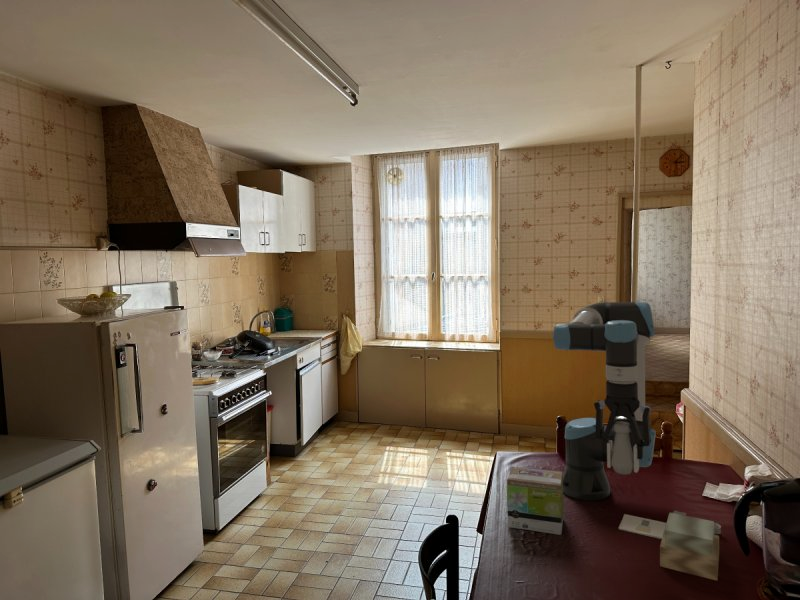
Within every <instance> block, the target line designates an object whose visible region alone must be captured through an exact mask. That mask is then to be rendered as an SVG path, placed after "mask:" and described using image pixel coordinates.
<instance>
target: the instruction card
mask: <svg viewBox="0 0 800 600" xmlns="http://www.w3.org/2000/svg"><path fill="white" fill-rule="evenodd" d="M666 523H667V522H663V521H659V520H653V519H650V518H646V517H645V518H644V517H639V516H635V515H631V514H626V513H624V514H623V517H622V520H621V521H620V523H619V526H618V530H620V531H624V532H629V533H633V534H638V535H642V536H647V537H651V538H654V539H655V538H656V539H659V540H662V537H663V533H664V529H665V525H666Z"/></svg>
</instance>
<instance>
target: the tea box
mask: <svg viewBox="0 0 800 600" xmlns="http://www.w3.org/2000/svg"><path fill="white" fill-rule="evenodd" d="M563 474H564V471H559V470H558V471H557V470H548V469H538V468H528V467H519V466H511V468H510V471H509V474H508V477H507V479H506V495H507V496H506V497H507V498H506V499H507V501H506V503H507V504H506V505H507V526H508V528H509V529H511V528H512V529H520V530H524V531H525V530H527V531H533V532H539V533H546V534H551V535H552V534H553V535H558V536H561V535H562V531H563V520H564V493H563Z"/></svg>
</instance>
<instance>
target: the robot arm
mask: <svg viewBox="0 0 800 600" xmlns="http://www.w3.org/2000/svg"><path fill="white" fill-rule="evenodd" d="M651 307H652V306H651V305H650V304H649V303H647V302H645V301H644V302H642V301H627V302H626V301H621V302H618V301H617V302H616V301H615V302H613V301H609V302H608V301H607V302H606V301H602V302H601V301H600V302H596V303H593V304H589V305H586V306H584V307H582V308H580V309H578V310H577V311H576V312H575V314H574V315H573V318H572V321H570V322H569V323H566V322H565V323H556V324H555V325H554V326H553V333H552V339H553V346H554V348H555V349H556V350H561V351H590V352H591V351H592V352H594V351H595V352H597V351H598V352H605V379H607V380H606V382H605V390H606V391H605V395H606V396H605V398H604V400H598V399H597V400H596V401H595V402H594V403H593V405H594V409H595V417H581V418H576V419H572V420H570V421H568V422H567V424H566V425H565V428H564V429H565V430H564V440H565V442H564V444H565V468H564V471H563V494H565V495H566V496H568V497H570V498H573V499H576V500H581V501H600V500H601V501H602V500H604V499H606V498H608V497H609V496H610V495H611V486H610V483H609V479H608V477H607V474H606V471H605V469H604V468H605V467H604V466H605V465H604V464H606V465H607V468H609V469H610V468H611V467H613V466H612V464H611V457H612V451H613V445H614V439H615V433H616V432H615V431H614V429H613V424H614V423H615V422H618V421H623V422H627V423H629V424H630V427H631V432H630V433H629V438H630V443H631V448H632V452H633V456H634V468H633V472H634V473H636V474H637V473H638V472H639V470H640V468H647V467H650V466H651V464H652V461H653V458H654V457H653V456H654V450H655V445H656V444H655V441H656V436H657V435H656V430H655V429H653V428H652V427H651V426H652V425H651V421H650V413H651V411H652V406H650V405H646V346H647V345H648V344H649V343H650V341H651V338H653V337H655V335H656V334H655V326H654V319H653V314H652V308H651ZM605 406H606V408H608V411H610V413H609V417H608V420H607V421H608V422H607V424H606V425H604V409H605Z"/></svg>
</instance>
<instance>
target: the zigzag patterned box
mask: <svg viewBox="0 0 800 600" xmlns="http://www.w3.org/2000/svg"><path fill="white" fill-rule="evenodd" d="M668 513H669V514H668V516H667V521H666V522H665V523H666V525H665V529H664V533H663V537H662V539H660V540H661V541H660V545H659V567H662V568H666V569H670V570H674V571H677V572H681V573H685V574H690V575H694V576H697V577H701V578H705V579H709V580H712V581H713V580H714V581H718V577H719V566H720V565H719V563H720V536H719V535H718V534H714V522H715V521H713V520H708V519H705V518H704V519H703V518H699V517H695V516H688V515H686V516H684V515H679V514H674V513H673V512H668Z"/></svg>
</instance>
